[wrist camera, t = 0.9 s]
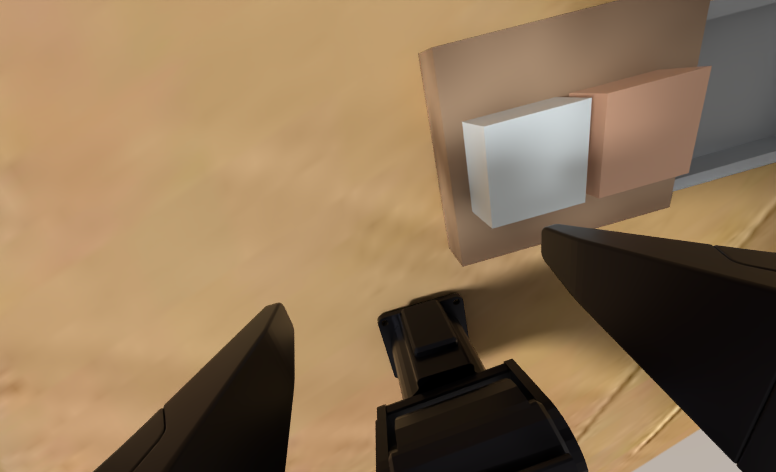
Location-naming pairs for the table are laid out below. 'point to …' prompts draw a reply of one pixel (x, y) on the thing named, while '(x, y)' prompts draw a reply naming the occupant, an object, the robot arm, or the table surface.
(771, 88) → the tray
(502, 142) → the white block
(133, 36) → the table surface
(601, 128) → the tile terracotta
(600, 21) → the walnut board
